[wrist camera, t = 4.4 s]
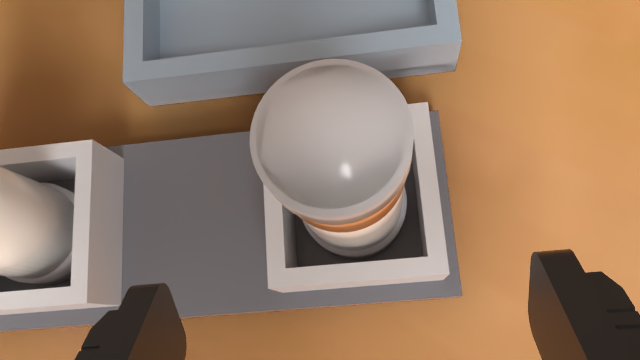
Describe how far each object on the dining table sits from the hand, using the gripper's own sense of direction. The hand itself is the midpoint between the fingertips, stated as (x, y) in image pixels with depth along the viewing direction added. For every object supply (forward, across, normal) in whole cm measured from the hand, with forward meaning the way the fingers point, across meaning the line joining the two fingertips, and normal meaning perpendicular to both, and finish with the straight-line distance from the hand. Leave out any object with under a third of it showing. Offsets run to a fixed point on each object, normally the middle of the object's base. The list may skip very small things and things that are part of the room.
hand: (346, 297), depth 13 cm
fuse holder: (+9, +6, +4) cm, 11 cm away
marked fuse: (+8, 0, +3) cm, 9 cm away
